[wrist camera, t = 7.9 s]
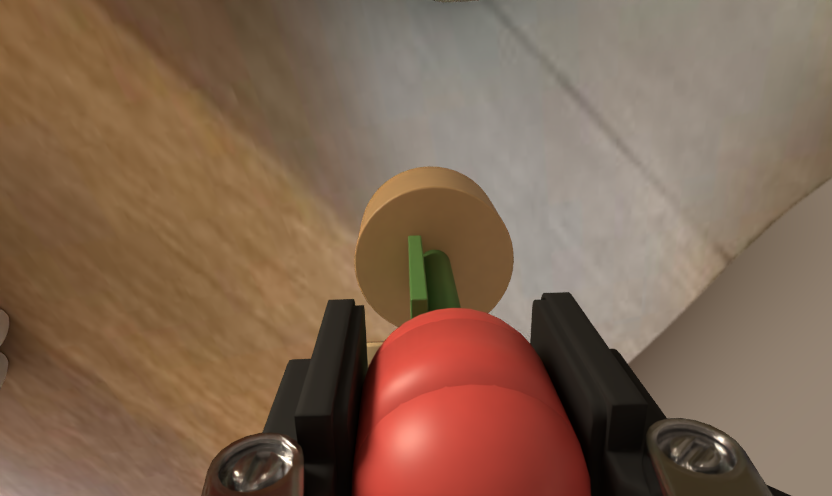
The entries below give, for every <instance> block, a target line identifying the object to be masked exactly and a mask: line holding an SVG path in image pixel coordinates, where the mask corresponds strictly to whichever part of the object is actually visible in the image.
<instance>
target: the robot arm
mask: <svg viewBox="0 0 832 496" xmlns="http://www.w3.org/2000/svg"><path fill="white" fill-rule="evenodd" d="M530 344H531V345H532V347H533V348H534V350H535V351H536V353H537V354H538V356H539V357H540V359H541V360H542V362H543V364H544V366H545V368H546V370H547V372H548V375H549V377H550V379H551V381H552V383H553V386H554V388H555V390H556V392H557V394H558V396H559V399H560V401H561V403H562V405H563V407H564V410H565V412H566V414H567V416H568V418H569V420H570V423H571V425H572V427H573V429H574V431H575V434H576V436H577V438H578V440H579V442H580V445H581V448H582V451H583V454H584V458H585V461H586V465H587V469H588V472H589V476H590V481H591V496H791V495H788V494H786V493H784V492H782V491H779V490H777V489H775V488H773V487H770V486H768V485H766V484H765V482H764V480H763V479H762V477H761V476H760V474H759V473H758V471H757V469H756V468H755V466H754V465H753V463H752V462H751V460H750V458H749V457H748V455H747V454H746V452H745V451H744V450H743V448H742V447H741V446H740V445H739V444H738V443H737V441H736V440H734V439H733V438H732V437H730V436H729V435H727V434H726V433H725V432H723V431H721V430H719V429H717V428H715V427H713V426H711V425H708V424H705V423H702V422H699V421H696V420H690V419H684V418H666V416H665V415H664V414H663V412H662V411H661V409H660V408H659V407H658V405H657V404H656V403H655V401H654V400H653V398H652V397H651V396H650V394H649V393H648V392H647V390H646V389H645V387H644V386H643V385H642V384H641V382H640V380H639V379H638V378H637V376H636V375H635V374H634V372H633V371H632V370H631V368H630V367H629V365H628V364H627V363H626V361H625V360H624V358H623V357H622V356H621V354H620V353H619V352H618V351H617V350H616V349H609V348H608V346H607V345H606V343H605V342H604V340H603V339H602V338H601V336H600V335H599V333H598V332H597V331H596V329H595V328H594V326H593V325H592V323H591V322H590V321H589V319H588V318H587V316H586V315H585V313H584V312H583V311H582V309H581V308H580V306H579V305H578V303H577V302H576V301H575V299H574V298H573V296H572V295H571V294H570V293H569V292H563V293H543V295H542V297H541V300H534V301H533V307H532V323H531V340H530ZM367 370H368V358H367V342H366V326H365V310H364V305H359V306H355V301H354V299H343V300H329V301H328V303H327V307H326V310H325V313H324V317H323V320H322V324H321V327H320V330H319V334H318V337H317V341H316V344H315V347H314V351H313V354H312V358H311V359H293V360H289V362H288V364H287V367H286V370H285V372H284V375H283V378H282V381H281V383H280V386H279V389H278V391H277V394H276V397H275V400H274V402H273V405H272V408H271V411H270V413H269V416H268V419H267V422H266V424H265V427H264V430H263V433H258V434H254V435H250V436H246V437H244V438H241V439H239V440H237V441H235V442H233V443H231V444H230V445H228V446H227V447H225V448H224V449H222V450H221V451H220V452H219V453H218V455H217V456H216V457H215V458H214V459H213V460H212V462H211V464H210V467H209V469H208V471H207V475H206V479H205V483H204V487H203V491H202V495H201V496H352V469H353V462H354V453H355V444H356V436H357V427H358V419H359V410H360V402H361V393H362V387H363V383H364V380H365V377H366V374H367Z"/></svg>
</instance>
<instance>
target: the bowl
mask: <svg viewBox="0 0 832 496" xmlns="http://www.w3.org/2000/svg"><path fill="white" fill-rule="evenodd" d="M433 1H437V2H442V3H447V2H470V1H479V0H433Z"/></svg>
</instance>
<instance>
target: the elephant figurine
mask: <svg viewBox="0 0 832 496" xmlns="http://www.w3.org/2000/svg"><path fill="white" fill-rule="evenodd" d="M8 329H9V316H8V315H7V314H6V313H5V311H3V310H1V309H0V346H1V344H2V343H3V341H4V340H5V338H6V336H7V332H8ZM7 370H8V360H7V358H6V356H5V355H4V354H3V353H1V352H0V388H1V387H2V385H3V383H4V380H5V378H6V375H7Z"/></svg>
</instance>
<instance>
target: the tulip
mask: <svg viewBox="0 0 832 496" xmlns="http://www.w3.org/2000/svg"><path fill="white" fill-rule="evenodd" d="M513 262H514V257H513V247H512V241H511V238H510V235H509V232H508V230H507V228H506V226H505V224H504V222H503V221H502V219H501V217H500V216H499V214H498V212H497V211H496V209H495V207H494V206H493V204H492V202H491V201H490V199H489V198H488V196H487V195H486V193H485V192H484V191H483V190H482V189H481V187H480V186H479V185H478V184H476V183H475V182H474V181H473V180H471V179H470V178H468V177H467V176H465V175H463V174H461V173H459V172H457V171H454V170H451V169H448V168H442V167H419V168H414V169H410V170H407V171H405V172H402V173H400V174H398V175H396V176H394V177H392V178H391V179H390V180H388V181H387V182H385V183H384V184H383V185H382V186H381V187H380V188H379V189H378V190H377V191H376V193H375V194H374V195H373V196H372V198H371V200H370V201H369V203H368V205H367V207H366V210H365V212H364V216H363V219H362V223H361V228H360V232H359V236H358V240H357V245H356V250H355V273H356V278H357V282H358V285H359V287H360V290H361V292H362V294H363V296H364V297H365V299H366V301H367V302H368V303H369V305H370V306H371V307H372V308H373V309H374V310H375V311H376V312H377V313H378V314H379V315H380V316H381V317H383V318H384V319H385V320H387V321H388V322H390V323H392V324H393V325H395V326H397V327H398V328H397V329H396V330H395V331H393V332H392V333H391V334H390V336H389V337H388V338H387V339H386V340H385V341H384V342H383V344H382V345H381V346H380V347H379V349H378V350H377V351H376V353H375V355H374V357H373V359H372V361H371V362H370V364H369V367H368V370H367V374H366V377H365V380H364V383H363V387H362V393H361V402H360V410H359V419H358V427H357V436H356V444H355V453H354V462H353V469H352V496H591V481H590V476H589V472H588V469H587V465H586V461H585V458H584V454H583V451H582V448H581V445H580V442H579V440H578V438H577V436H576V434H575V431H574V429H573V427H572V425H571V423H570V420H569V418H568V416H567V414H566V412H565V410H564V407H563V405H562V403H561V401H560V399H559V396H558V394H557V392H556V390H555V388H554V386H553V383H552V381H551V379H550V377H549V375H548V372H547V370H546V368H545V366H544V364H543V362H542V360H541V359H540V357H539V356H538V354H537V353H536V351H535V350H534V348H533V347H532V345H531V344H530V343H529V342H528V341H527V340H526V339H525V338H524V336H523V335H522V334H521V333H519V332H518V331H517V330H515V329H514V328H512V327H511V326H510V325H508V324H507V323H505V322H504V321H503V320H501V319H499V318H497V317H495V316H492V315H490V314H488V313H489V312H490V311H491V310H492V309H493V308H494V307H495V306H496V305H497V303H498V302H499V301H500V299H501V298H502V296H503V295H504V293H505V291H506V289H507V287H508V284H509V282H510V279H511V275H512V271H513Z"/></svg>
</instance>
